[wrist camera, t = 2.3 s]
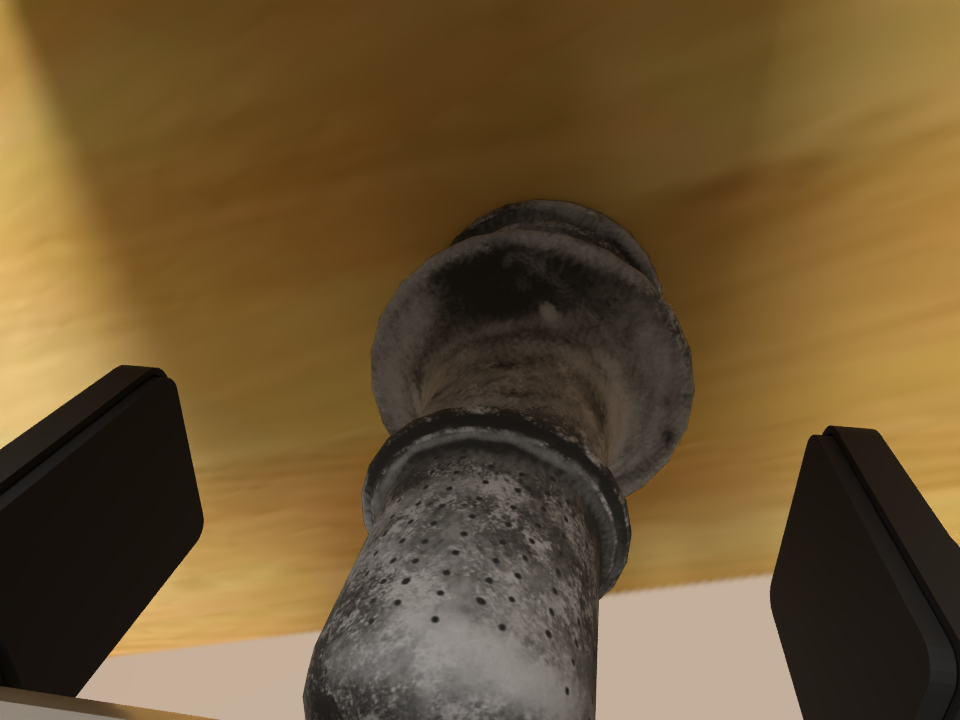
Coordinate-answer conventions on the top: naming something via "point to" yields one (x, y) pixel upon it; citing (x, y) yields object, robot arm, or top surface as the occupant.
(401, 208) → the top surface
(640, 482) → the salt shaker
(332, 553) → the top surface
